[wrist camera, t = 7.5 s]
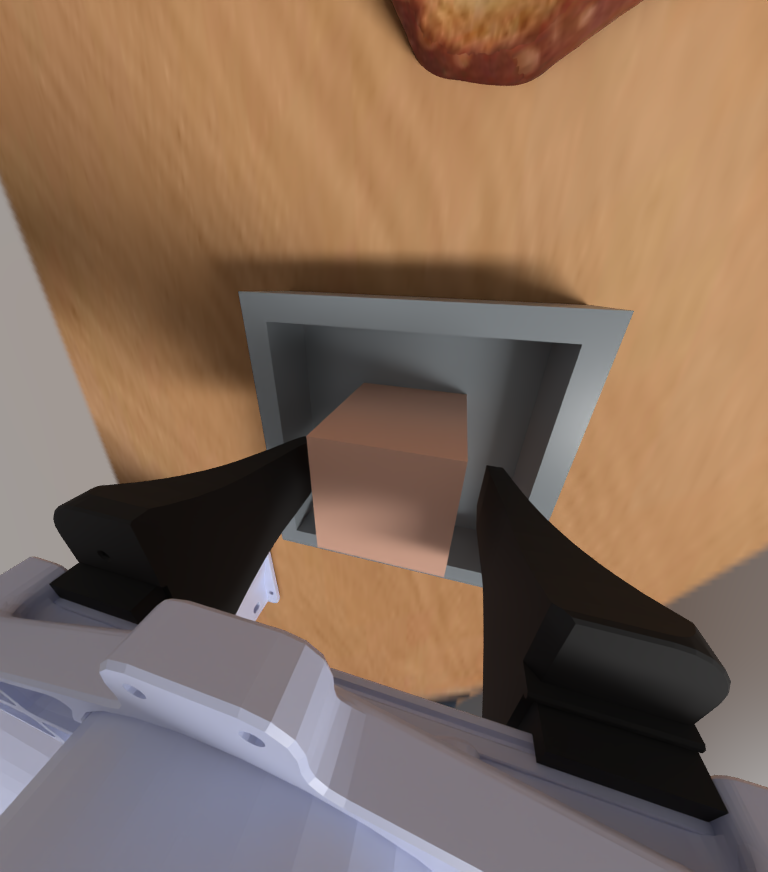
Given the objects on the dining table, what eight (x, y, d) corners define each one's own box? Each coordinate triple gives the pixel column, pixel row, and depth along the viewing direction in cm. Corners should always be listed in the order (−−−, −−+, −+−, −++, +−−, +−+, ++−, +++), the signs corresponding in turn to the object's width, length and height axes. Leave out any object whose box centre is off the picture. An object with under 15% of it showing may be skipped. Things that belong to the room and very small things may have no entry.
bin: (508, 542, 17) (518, 596, 14) (310, 501, 20) (282, 539, 17) (588, 305, 11) (633, 310, 8) (288, 290, 14) (238, 291, 11)
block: (451, 481, 16) (444, 577, 10) (363, 466, 17) (317, 546, 11) (466, 394, 13) (467, 461, 8) (363, 382, 14) (306, 436, 9)
